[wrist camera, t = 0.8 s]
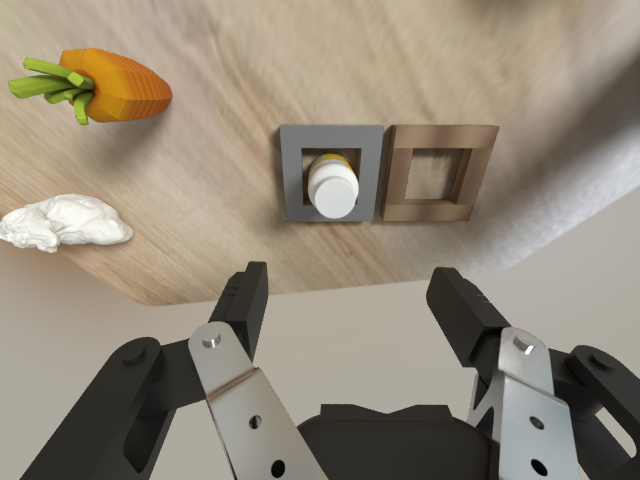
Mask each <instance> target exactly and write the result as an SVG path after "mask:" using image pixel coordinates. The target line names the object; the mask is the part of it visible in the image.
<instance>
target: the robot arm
mask: <svg viewBox="0 0 640 480" xmlns="http://www.w3.org/2000/svg"><path fill="white" fill-rule="evenodd" d="M267 300H268V276H267V264H266V262H255V261H250V262H249V263H248V266H247V268H246V270H245V272H236V273H235V274H234V275H233V276H232V277H231V278H230V279H229V280H228V282H227V284H226V286H225V289H224V290H223V292H222V296H221V297H220V299H219V301H218V303H217V305H216V307H215V309H214V311H213V313H212V315H211V317H210V319H209V321H208V323H207V324H205V325H203V326H201V327H199V328H198V329H197V330H195V331H194V333H193V334H192V335H191V337H190V338H188V339H186V340H182V341H179V342H174V343H171V344H166V345H162V346H161V345H160V343H159V342H158V340H157V339H155V338H151V337H142V338H137V339H134V340H132V341H129V342H127V343H126V344H124V345H122V346H121V347H119V348H118V349H117V350H116V351H115V352H114V353H113V354H112V355H111V356H110V357H109V359H108V360H107V361H106V363H105V364H104V366H103V367H102V368H101V370H100V371H99V372H98V374H97V375H96V377H95V378H94V379H93V381H92V382H91V383H90V385H89V386H88V387H87V389H86V390H85V391H84V393H83V394H82V396H81V397H80V398H79V400H78V401H77V402H76V404H75V405H74V406H73V408H72V409H71V410H70V412H69V413H68V414H67V416H66V417H65V419H64V420H63V421H62V423H61V424H60V426H59V427H58V428H57V429H56V431H55V432H54V434H53V435H52V436H51V438H50V439H49V440H48V442H47V443H46V444H45V446H44V447H43V449H42V450H41V451H40V453H39V454H38V455H37V457H36V458H35V459H34V461H33V462H32V463H31V465H30V466H29V468H28V469H27V470H26V472H25V473H24V474H23V476H22V477H21V478H20V480H149V478H150V476H151V473H152V471H153V468H154V465H155V463H156V460H157V458H158V455H159V452H160V450H161V448H162V445H163V443H164V440H165V437H166V435H167V432H168V430H169V427H170V425H171V422H172V419H173V417H174V415H175V412H176V410H177V408H180V407H183V406H186V405H189V404H192V403H195V402H198V401H201V400H205V399H206V402H207V405H208V408H209V410H210V413H211V416H212V419H213V421H214V424H215V427H216V430H217V433H218V435H219V438H220V441H221V443H222V446H223V449H224V452H225V455H226V458H227V461H228V464H229V466H230V469H231V472H232V475H233V478H234V480H581V479H580V473H579V467H578V463H579V464H580V466H581V467H582V469H583V470H584V472H585V473H586V474H587V476H588V477H589V479H590V480H640V379H639V378H637V377H636V376H635V375H634V374H633V373H632V372H631V371H630V370H629V369H628V368H626V367H625V366H624V365H623V364H622V363H621V362H619V361H618V360H617V359H615V358H614V357H612V356H610V355H609V354H607V353H605V352H603V351H601V350H599V349H597V348H594V347H590V346H585V345H579V346H576V347H575V348H574V349H573V350H572V351H571V353H570V354H568V353H564V352H561V351H557V350H553V349H549V348H547V347H546V346H545V344H544V343H543V342H542V341H541V340H540V339H538V338H537V337H536V336H534V335H532V334H531V333H529V332H527V331H525V330H522V329H519V328H515V327H512V326H511V325H510V324H509V323H508V322H507V320H506V319H505V318H504V317H503V316H502V315H501V314H500V313H499V312H498V310H497V309H496V308H495V307H494V306H493V305H492V303H489V300H488V299H487V298H486V297H485V296H483V293H482V292H481V291H480V290H479V289H478V288H477V286H475V285H474V284H473V283H471V282H470V281H468V280H467V279H464V278H463V277H462V276H461V275H460V274H459V272H458V271H457V270H456V269H455V268H447V267H437V268H435V270H434V272H433V275H432V278H431V281H430V284H429V287H428V290H427V293H426V300H427V304H428V306H429V308H430V310H431V311H432V313H433V315H434V317H435V319H436V320H437V322H438V324H439V326H440V327H441V329H442V331H443V333H444V335H445V336H446V338H447V340H448V342H449V343H450V345H451V347H452V349H453V350H454V352H455V354H456V356H457V358H458V360H459V361H460V363H461V365H462V367H475V368H476V369H477V371H478V372H477V374H476V376H475V380H474V386H473V391H472V398H471V403H470V408H469V414H468V418H467V421H466V422H464V421H462V420H460V419H457V418H455V417H452V415H451V413H450V410H449V408H448V406H447V405H414V406H411V407H408V408H405V409H402V410H399V411H396V412H392V413H389V414H385V413H381V412H377V411H374V410H371V409H367V408H364V407H360V406H356V405H353V404H321V410H320V411H321V412H320V415H317V416H314V417H312V418H310V419H308V420H306V421H304V422H303V423H301V424H300V425H298V426H297V427H296V426H295V424H294V423H293V421H292V419H291V418H290V416H289V414H288V413H287V411H286V409H285V408H284V406H283V404H282V403H281V401H280V399H279V398H278V396H277V394H276V393H275V391H274V389H273V388H272V386H271V385H270V383H269V381H268V380H267V378H266V376H265V375H264V373H263V371H262V370H261V369H260V368H258V367H257V368H255V367H254V366H253V364H252V363H253V359H254V355H255V350H256V346H257V342H258V337H259V334H260V329H261V325H262V321H263V317H264V313H265V308H266V304H267ZM603 407H605V408H606V410H608V412H609V413H610V414H611V415H612V416H613V417H614V419H615V420H616V421H617V422H618V423H619V424H620V425H621V426H622V427H623V429H624V430H625V431H626V432H627V433H628V434H629V435H630V436H631V438H632V439H633V441H634V443H635V445H636V450H637V452H636V455H635V456H634V457H633V458H631V457H630V456H629V455H628V453H627V452H626V451H625V450H624V449H623V448H622V446H621V445H620V444H619V443H618V442H617V440H616V439H615V438H614V437H613V436H612V434H611V433H610V432H609V431H608V430H607V429H606V427H605V426H604V425H603V424H602V423H601V422H600V420H599V419H598V418H597V417H596V416H595V414H596V413H597V412H598V411H599V410H601V409H602V408H603Z"/></svg>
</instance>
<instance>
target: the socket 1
mask: <svg viewBox="0 0 640 480" xmlns="http://www.w3.org/2000/svg"><path fill="white" fill-rule="evenodd" d="M383 132H384V126H382V125H280V139H281V153H282V167H283V181H284V195H285V209H286V222H306V221H373V216H374V208H375V200H376V191H377V183H378V174H379V166H380V157H381V149H382V141H383ZM302 148H359V153H358V167H357V181H358V185H359V191H358V196H357V199H356V201H355V205H354V207H353V209H352V210H351V211H350V212H349V213H348V214H347V215H345V216H344V217H341V218H336V219H333V218H328V217H325V216H324V215H322V214H321V213H320V212H319V211H318V210H317V208H316V207H315V206H314V205H313V204H312V202H311V200H304V193H303V162H302Z"/></svg>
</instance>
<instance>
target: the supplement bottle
mask: <svg viewBox="0 0 640 480" xmlns="http://www.w3.org/2000/svg"><path fill="white" fill-rule="evenodd" d="M358 191H359V185H358V181H357V178H356V176H355V174H354V172H353V170H352V169H351V167H350V165H349V163H348V162H347V161H346V160H345V159H344V158H343V157H342V156H340V155H338V154H334V153H327V154H323V155H321V156H319V157H318V158H316V159H315V160H314V162H313V163H312V165H311V167H310V171H309V182H308V194H309V198H310V200H311V202H312V204H313V205H314V206H315V207H316V208H317V210H318V211H319V212H320V213H321V214H322V215H324V216H325V217H328V218H333V219H336V218H341V217H344V216H345V215H347V214H348V213H349V212H350V211H351V210H352V209H353V207H354V205H355V201H356V199H357V196H358Z"/></svg>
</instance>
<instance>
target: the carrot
mask: <svg viewBox="0 0 640 480" xmlns="http://www.w3.org/2000/svg"><path fill="white" fill-rule="evenodd" d="M23 64H24V68H25V69H29V70H33V71H37V72H41V73H45V74H50V75H37V76H31V77H24V78H20V79H16V80H12V81H8V84H9V88H10V91H11V92H12V93H13V94H14V95H15V96H16V97H17V98H21V99H23V98H27V97H31V96H35V95H39V94H43V93H44V98H45V99H46V100H47V101H48V102H49V103H51V104H56V103H58V102H61V101H64V100H66V99H67V100H68V101H69V103H70V104H71V105H73V106H74V110H75V115H76V118H77V120H78V122H79V124H80V125H88V124H89V123H88V118H87V116H89V117H90V118H91V119H93V120H94V121H96V122H102V123H104V122H116V121H128V120H135V119H142V118H147V117H152V116H154V115H156V114H159V113H160V112H162V111H164V110H165V109H166V108H167V106H168V105H169V103H170V101H171V99H172V97H173V95H172V92H171V89H170V86H169V85H168V84H167V83H166V82H165V81H164V80H163V79H162V78H160V77H159V76H158V75H157V74H155V73H154V72H153V71H152V70H150V69H148V68H147V67H145V66H143V65H142V64H140V63H138V62H136V61H134V60H132V59H129V58H126V57H123V56H120V55H117V54H114V53H110V52H107V51H103V50H100V49H95V48H90V49H78V50H66V51H63V52H62V55H61V59H60V62H59V65H55V64H52V63H49V62H45V61H42V60H37V59H32V58H25V60H24V63H23Z"/></svg>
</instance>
